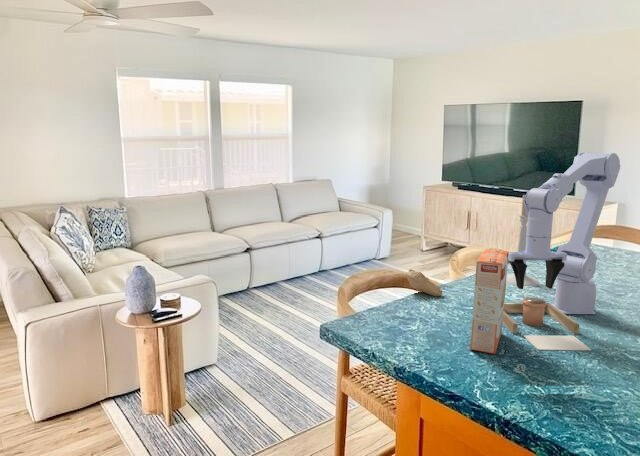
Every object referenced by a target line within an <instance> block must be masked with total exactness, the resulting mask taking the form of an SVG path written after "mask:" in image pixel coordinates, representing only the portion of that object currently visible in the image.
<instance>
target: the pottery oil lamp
mask: <svg viewBox="0 0 640 456" xmlns="http://www.w3.org/2000/svg"><path fill="white" fill-rule="evenodd" d="M405 276H406V278H407V281H408V283H409V286H410V287H412V288H413V289H415V290H417V291H418V292H420V293H425V294H428V295H430V296H433V297H441V296H442V295H443V290H442V288H440V287H439V286H438V285H437V284H436V283H435V282H434V281H432V280H431V279H430V278H429V277H427V276H425V275H424V273H422V272H421V271H418V270H413V269H409V270H408V272H405Z"/></svg>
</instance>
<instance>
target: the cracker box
mask: <svg viewBox="0 0 640 456" xmlns="http://www.w3.org/2000/svg"><path fill="white" fill-rule="evenodd" d="M509 252H510V251H507V250H498V249H497V250H496V249H487V248H486V249H484V250H483V251H482V252H481V254H480V255H479V257H478V259H476V263H475V264H476V265H475V277H474V279H475V280H474V291H473V304H472V314H471V315H472V316H471V317H472V318H471V331H470V332H471V333H470V343H469V346H470V347H469V349H470V350H471V351H477V352H482V353H486V354H491V355H496V353H497V351H498V350H497V349H498V346H499V343H500V340H501V336H502V332H503V323H502V322H503V312H504V303H505V300H506V291H507V290H506V288H507V283H506V278H507V275H508V263H509V260H508V254H509Z"/></svg>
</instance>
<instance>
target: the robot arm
mask: <svg viewBox="0 0 640 456" xmlns="http://www.w3.org/2000/svg"><path fill="white" fill-rule="evenodd" d="M573 158H574V159H573V162H572V165H570V167H568V168H567V170H566V171H564V173H555V172H554V174H553V175H552V177H551V178H549V179H548V180H546V182H544V183H542V185H541V186H539V187H533V188H531V189H530V190H528V191H527V192H526V194H525V195H526V196H525V199H524V206H525V208H526V216H527V217H528V222H527V224H526V226H527V236H526V248H525V251H520V252H517V251H513V252H512V251H508V252H509V254H508V262H509V264H510V266H511V268H512V270H513V274H515V278H516V283H517V286H516V288H518V289H519V290H524V287H525V286H524V276H525V271H526V272H527V268H528V264H527V263H526V264H524V262H523V261H526V262H527V261H528V262H529V261H544V263H545V272H546V274H545V287H546V288H548V289H549V290H550V289H551V290H553V288H554V286H555V296H554V297H555V298H554V302H549V303H550V304H551V305H553V306H554V307H555V308H557V309H558V310H560V311H561V312H562V313H564V314H565V315H596V313H597V312H596V311H595V306H596V298H597V287H596V283H595V282H594V280H592V279H593V277H594V275H595V273H596V269H597V268H596V267H597V259H598V256H597V255H596V253H595V252H594V250H592V249H591V248H590V246H591V243H592V239H593V237H594V235H595V232H596V228H597V226H598V223H599V220H600V217H601V214H602V211H603V208H604V204H605V202H606V199H607V196H608V194H609V189H611V188H614V186H615V184H616V181H617V178H618V176H619V173H620V170H621V162H620V161H621V159H620V157H619V155H618V154H617V153H615V152H612V153H602V152H601V153H596V152H595V153H589V152H579V153H578V154H577V155H576V156H574V157H573ZM577 182H579V183H580V185H582V186H583V187H585V188H586V192H585V194H584V197H583V200H582V202H581V203H582V204H581V206H580V209H579V211H578V215H577V217H576V221H575V224H574V226H573V230H572V232H571V236H570V238H569V241H568V242H566V243H564V244H561V245H560V246H558V248H557V249H556V251H551V245H552V231H553V222H554V221H553V220H554V219H553V218H554V213H555V212H556V211H557V210H558V208H559V206H560V204H561V203H562V201H563V199H564V198H565V197H566V196H567V195H568V194H570V193H571V192H572V191H573V189H574V184H575V183H577ZM555 282H556V285H554V284H555Z"/></svg>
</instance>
